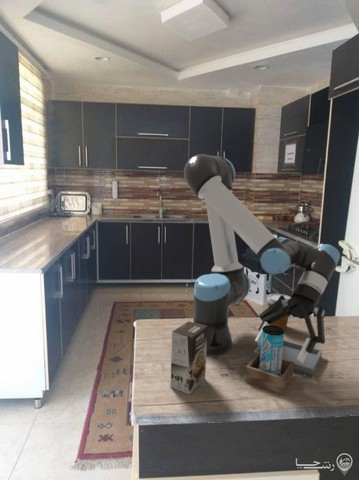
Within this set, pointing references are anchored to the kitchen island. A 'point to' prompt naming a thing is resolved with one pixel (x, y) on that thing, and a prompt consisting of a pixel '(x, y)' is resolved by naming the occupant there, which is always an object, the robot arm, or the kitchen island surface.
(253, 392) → the kitchen island surface
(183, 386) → the coffee box
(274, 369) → the beverage can
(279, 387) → the walnut holder
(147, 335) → the kitchen island surface
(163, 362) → the kitchen island surface
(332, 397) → the kitchen island surface
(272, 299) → the disposable coffee cup
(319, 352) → the grey tray
